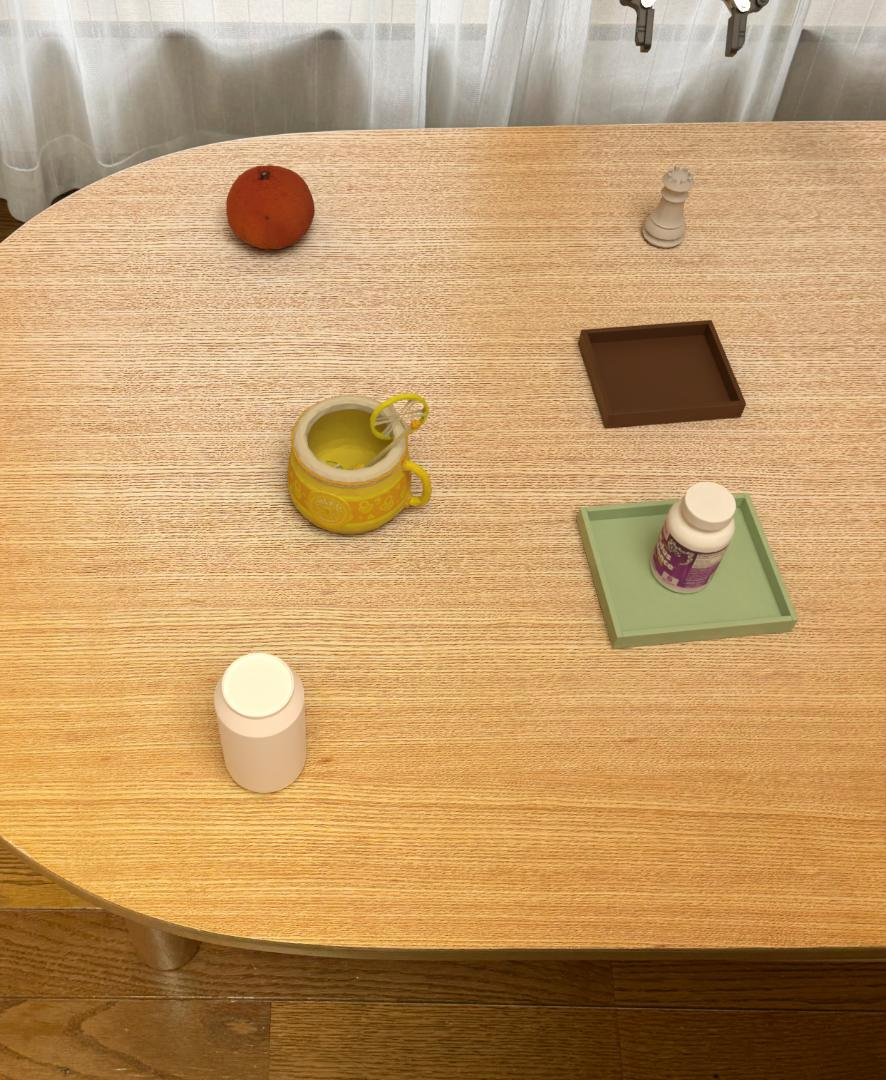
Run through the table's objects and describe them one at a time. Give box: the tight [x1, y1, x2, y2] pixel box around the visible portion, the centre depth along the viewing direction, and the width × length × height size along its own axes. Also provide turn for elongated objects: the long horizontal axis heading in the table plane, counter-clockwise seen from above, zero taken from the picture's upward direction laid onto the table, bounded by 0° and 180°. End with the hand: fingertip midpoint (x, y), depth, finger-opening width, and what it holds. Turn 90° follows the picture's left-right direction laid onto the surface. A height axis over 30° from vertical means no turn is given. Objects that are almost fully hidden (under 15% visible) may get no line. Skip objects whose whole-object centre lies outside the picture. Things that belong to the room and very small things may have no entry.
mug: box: [286, 392, 433, 535], centre depth 98 cm, size 13×11×12 cm
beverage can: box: [213, 652, 308, 794], centre depth 84 cm, size 6×6×12 cm
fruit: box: [225, 164, 316, 250], centre depth 120 cm, size 9×9×8 cm
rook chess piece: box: [641, 165, 696, 249], centre depth 121 cm, size 4×4×8 cm
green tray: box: [576, 492, 799, 650], centre depth 98 cm, size 15×13×2 cm
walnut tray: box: [577, 319, 747, 429], centre depth 111 cm, size 13×11×2 cm
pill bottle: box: [650, 481, 736, 593], centre depth 95 cm, size 5×5×10 cm
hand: (688, 53), depth 117 cm, fingers open, 8 cm apart
